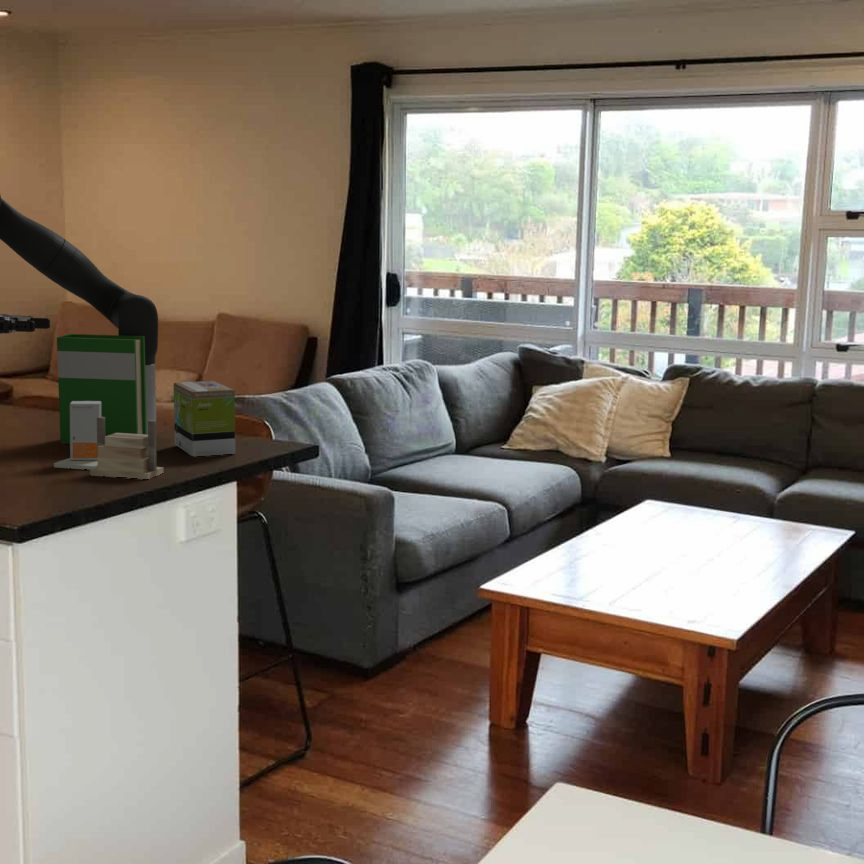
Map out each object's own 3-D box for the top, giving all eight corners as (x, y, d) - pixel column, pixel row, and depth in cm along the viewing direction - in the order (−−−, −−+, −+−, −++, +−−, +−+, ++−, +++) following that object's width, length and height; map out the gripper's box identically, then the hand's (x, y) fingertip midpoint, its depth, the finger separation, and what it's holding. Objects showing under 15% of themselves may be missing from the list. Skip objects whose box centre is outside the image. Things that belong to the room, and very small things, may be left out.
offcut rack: (107, 469, 246) (106, 414, 244) (163, 473, 244) (163, 418, 242) (90, 475, 240) (88, 419, 238) (147, 479, 237) (147, 423, 235)
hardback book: (147, 439, 280) (144, 336, 276) (137, 446, 273) (134, 340, 268) (72, 436, 281) (68, 333, 277) (60, 443, 274) (56, 337, 269)
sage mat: (85, 456, 259) (85, 452, 259) (124, 459, 257) (124, 455, 257) (53, 467, 247) (53, 463, 247) (94, 470, 245) (94, 466, 245)
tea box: (172, 446, 274) (172, 381, 272) (215, 443, 279) (215, 380, 276) (191, 458, 261) (191, 389, 258) (236, 455, 265) (236, 388, 263)
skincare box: (69, 461, 249) (68, 403, 247) (72, 457, 254) (71, 400, 252) (100, 460, 250) (99, 403, 248) (102, 457, 254) (101, 400, 253)
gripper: (-50, 306, 246) (28, 309, 246) (-21, 302, 260) (53, 305, 260) (-49, 343, 248) (29, 346, 247) (-20, 337, 262) (54, 340, 261)
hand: (42, 325), depth 253 cm, fingers open, 8 cm apart
